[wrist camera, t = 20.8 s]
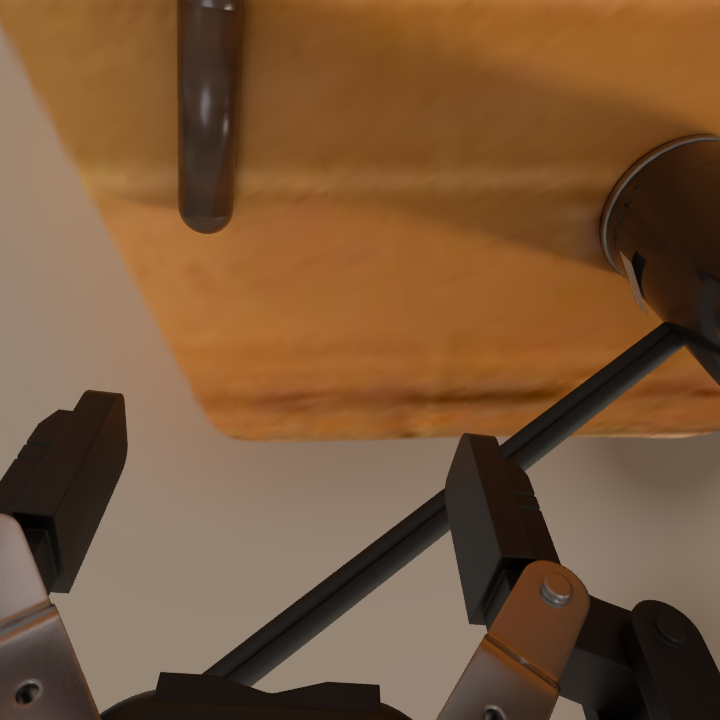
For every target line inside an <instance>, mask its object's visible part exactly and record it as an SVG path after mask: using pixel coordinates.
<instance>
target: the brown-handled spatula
mask: <svg viewBox="0 0 720 720" xmlns="http://www.w3.org/2000/svg"><path fill="white" fill-rule="evenodd" d="M242 19H243V2H242V0H177V74H178V206H179V212H180V215H181V218H182V219H183V221H184V222H185V224H186V225H187V226H188V227H190V228H191V229H192V230H194V231H196V232H199V233H203V234H212V233H216V232H219V231H220V230H222V229H223V228H225V227H226V226H227V224H228V223H229V221H230V220H231V217H232V213H233V200H234V180H235V160H236V140H237V120H238V99H239V79H240V59H241V39H242Z"/></svg>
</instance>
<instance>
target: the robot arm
mask: <svg viewBox="0 0 720 720" xmlns="http://www.w3.org/2000/svg"><path fill="white" fill-rule="evenodd" d="M600 239H601V245H602V248H603V251H604V254H605V256H606V258H607V259H608V261H609V262H610V264H611V265H612V266H613V267H614V268H615V270H616V271H617V272H618V273H619V274H621V275H622V276H623V277H625V278H626V279H627V280H628V282H629V283H630V285H631V288H632V291H633V294H634V297H635V300H636V303H637V304H638V306H639V307H640V308H641V309H642V310H643V312H644V313H645V314H646V315H647V312H646V309H645V306H644V303H643V299H644V300H645V302H646V303H647V304H648V305H649V306H650V307H651V308H652V309H653V311H654V312H655V313H656V314H657V315H658V316H659V317H660V319H661V320H662V321H663V322H664V323H662V324H661V325H660V326H658V327H657V328H656V329H654V330H653V331H652V332H650V333H649V334H648V335H646V336H645V337H644V338H642V339H641V340H640V341H638V342H637V343H636V344H634V345H633V346H632V347H630V348H629V349H628V350H626V351H625V352H624V353H622V354H621V355H620V356H618V357H617V358H616V359H615V360H613V361H612V362H611V363H609V364H608V365H607V366H605V367H604V368H603V369H601V370H600V371H599V372H597V373H596V374H595V375H593V376H592V377H591V378H589V379H588V380H587V381H585V382H584V383H583V384H581V385H580V386H579V387H577V388H576V389H575V390H573V391H572V392H571V393H569V394H568V395H567V396H565V397H564V398H563V399H561V400H560V401H559V402H557V403H556V404H555V405H553V406H552V407H551V408H549V409H548V410H547V411H545V412H544V413H543V414H541V415H540V416H539V417H537V418H536V419H535V420H533V421H532V422H531V423H529V424H528V425H527V426H525V427H524V428H523V429H521V430H520V431H519V432H518V433H516V434H515V435H514V436H512V437H511V438H510V439H508V440H507V441H506V442H504V443H503V444H502V445H501V446H499V444H498V441H497V439H496V437H494V436H487V435H478V434H469V433H464V434H463V435H462V437H461V439H460V441H459V444H458V447H457V450H456V453H455V456H454V459H453V461H452V464H451V467H450V470H449V473H448V476H447V480H446V485H445V488H444V489H443V490H442V491H440V492H439V493H438V494H436V495H435V496H434V497H432V498H431V499H430V500H428V501H427V502H426V503H425V504H423V505H422V506H421V507H419V508H418V509H417V510H415V511H414V512H413V513H411V514H410V515H409V516H408V517H406V518H405V519H404V520H402V521H401V522H400V523H399V524H397V525H396V526H394V527H393V528H392V529H390V530H389V531H388V532H387V533H385V534H384V535H383V536H381V537H380V538H379V539H377V540H376V541H375V542H374V543H372V544H371V545H370V546H368V547H367V548H366V549H364V550H363V551H362V552H361V553H359V554H358V555H357V556H355V557H354V558H353V559H351V560H350V561H349V562H347V563H346V564H345V565H343V566H342V567H341V568H339V569H338V570H337V571H336V572H334V573H333V574H332V575H330V576H329V577H328V578H327V579H325V580H324V581H322V582H321V583H320V584H318V585H317V586H316V587H315V588H313V589H312V590H311V591H309V592H308V593H307V594H305V595H304V596H303V597H302V598H300V599H299V600H298V601H296V602H295V603H294V604H292V605H291V606H290V607H289V608H287V609H286V610H284V611H283V612H282V613H281V614H279V615H278V616H277V617H275V618H274V619H273V620H271V621H270V622H269V623H267V624H266V625H265V626H264V627H262V628H261V629H260V630H258V631H257V632H256V633H254V634H253V635H252V636H251V637H249V638H248V639H247V640H245V641H244V642H243V643H242V644H240V645H239V646H238V647H236V648H235V649H234V650H233V651H231V652H230V653H229V654H227V655H226V656H225V657H223V658H222V659H221V660H219V661H218V662H217V663H216V664H214V665H213V666H212V667H210V668H209V669H208V670H207V671H205V672H204V673H203V674H183V673H167V672H161V673H160V676H159V680H158V683H157V688H156V690H152V691H147V692H144V693H141V694H138V695H135V696H132V697H130V698H128V699H125V700H123V701H121V702H119V703H117V704H115V705H114V706H112V707H110V708H109V709H107V710H105V711H104V712H102V713H101V714H99V712H98V709H97V707H96V704H95V702H94V699H93V697H92V695H91V692H90V689H89V687H88V684H87V682H86V679H85V677H84V674H83V672H82V670H81V667H80V665H79V662H78V659H77V657H76V654H75V652H74V649H73V647H72V644H71V642H70V639H69V637H68V634H67V632H66V629H65V627H64V624H63V622H62V619H61V617H60V614H59V612H58V610H57V608H56V606H55V604H52V603H51V601H50V599H49V594H50V592H56V593H69V592H70V590H71V587H72V585H73V583H74V580H75V578H76V576H77V574H78V571H79V569H80V566H81V565H82V562H83V560H84V558H85V555H86V553H87V551H88V548H89V546H90V544H91V541H92V539H93V537H94V535H95V532H96V530H97V528H98V526H99V523H100V521H101V518H102V516H103V514H104V512H105V510H106V507H107V505H108V503H109V500H110V498H111V496H112V494H113V491H114V489H115V487H116V484H117V482H118V480H119V478H120V475H121V473H122V470H123V468H124V465H125V461H126V456H127V446H128V444H127V429H126V416H125V402H124V397H123V395H122V394H120V393H111V392H103V391H94V390H87V391H85V392H84V394H83V395H82V397H81V399H80V400H79V402H78V404H77V405H76V407H75V408H74V410H73V411H67V410H58V411H56V412H55V413H53V414H52V415H50V416H49V417H48V418H46V419H45V420H43V421H42V422H40V423H39V424H38V426H37V427H36V429H35V430H34V432H33V433H32V435H31V436H30V437H29V439H28V441H27V444H26V445H24V446H23V448H22V450H21V451H20V453H19V454H18V458H17V459H15V460H14V462H13V463H12V465H11V466H10V467H9V469H8V470H7V472H6V473H5V475H4V476H3V478H2V480H1V481H0V720H412V719H411V718H410V717H408V716H406V715H405V714H404V713H402V712H400V711H399V710H397V709H395V708H393V707H391V706H389V705H386V704H384V703H381V702H380V686H379V685H372V684H355V683H338V682H324V683H320V684H315V685H311V686H307V687H302V688H297V689H292V690H288V691H283V692H279V693H266V692H263V691H260V690H257V689H254V688H251V686H252V685H254V684H255V683H256V682H258V681H259V680H260V679H261V678H263V677H264V676H265V675H266V674H268V673H269V672H270V671H272V670H273V669H274V668H275V667H277V666H278V665H279V664H281V663H282V662H283V661H284V660H286V659H287V658H288V657H289V656H291V655H292V654H293V653H295V652H296V651H297V650H298V649H300V648H301V647H302V646H303V645H305V644H306V643H307V642H309V641H310V640H311V639H312V638H314V637H315V636H316V635H317V634H319V633H320V632H321V631H323V630H324V629H325V628H326V627H328V626H329V625H330V624H331V623H333V622H334V621H335V620H336V619H338V618H339V617H340V616H342V615H343V614H344V613H345V612H347V611H348V610H349V609H350V608H352V607H353V606H354V605H355V604H357V603H358V602H359V601H361V600H362V599H363V598H364V597H366V596H367V595H368V594H369V593H371V592H372V591H373V590H375V589H376V588H377V587H378V586H379V585H381V584H382V583H383V582H385V581H386V580H387V579H388V578H390V577H391V576H392V575H393V574H395V573H396V572H397V571H398V570H400V569H401V568H402V567H404V566H405V565H406V564H408V563H409V562H410V561H411V560H413V559H414V558H415V557H416V556H418V555H419V554H420V553H422V552H423V551H424V550H425V549H427V548H428V547H429V546H430V545H432V544H433V543H434V542H435V541H437V540H438V539H439V538H440V537H442V536H443V535H444V534H446V533H447V532H448V531H449V530H451V534H452V538H453V544H454V549H455V554H456V559H457V564H458V569H459V574H460V579H461V585H462V589H463V594H464V600H465V605H466V610H467V615H468V620H469V624H475V625H486V628H487V632H488V633H487V634H486V635H485V636H484V638H483V640H482V641H481V643H480V644H479V646H478V648H477V650H476V651H475V653H474V655H473V656H472V658H471V660H470V662H469V664H468V665H467V667H466V669H465V670H464V672H463V674H462V675H461V677H460V679H459V681H458V682H457V684H456V686H455V688H454V689H453V691H452V693H451V694H450V696H449V698H448V700H447V702H446V703H445V705H444V707H443V708H442V710H441V712H440V714H439V715H438V717H437V719H436V720H549V719H550V717H551V714H552V712H553V709H554V707H555V704H556V702H557V699H558V696H559V695H560V696H562V697H564V698H567V699H569V700H572V701H574V702H577V703H579V704H582V706H583V710H584V714H585V717H586V720H720V672H719V670H718V668H717V666H716V664H715V662H714V660H713V658H712V656H711V654H710V652H709V650H708V648H707V646H706V644H705V642H704V640H703V637H702V636H701V634H700V632H699V630H698V629H697V628H696V626H695V625H694V624H693V623H692V622H691V621H690V619H688V618H687V617H686V616H685V615H684V614H683V613H681V612H680V611H679V610H677V609H675V608H674V607H672V606H670V605H668V604H666V603H663V602H660V601H656V600H644V601H642V602H639V603H638V604H637V605H636V606H635V607H634V609H633V610H632V611H629V610H626V609H624V608H621V607H618V606H615V605H613V604H610V603H608V602H605V601H602V600H600V599H597V598H595V597H593V596H591V595H589V594H588V591H587V589H586V587H585V585H584V584H583V583H582V581H581V580H580V579H579V578H578V577H577V576H576V575H575V574H574V573H573V572H572V571H570V570H569V569H567V568H566V567H564V566H562V565H561V563H560V561H559V558H558V555H557V553H556V550H555V547H554V545H553V542H552V539H551V536H550V534H549V531H548V528H547V526H546V523H545V520H544V518H543V515H542V512H541V511H540V510H539V509H540V507H539V504H538V502H537V499H536V497H534V491H533V488H532V485H531V483H530V480H529V477H528V475H527V474H526V473H525V472H524V471H525V470H527V469H528V468H529V467H531V466H532V465H533V464H534V463H536V462H537V461H538V460H540V459H541V458H542V457H543V456H545V455H546V454H547V453H548V452H550V451H551V450H552V449H553V448H555V447H556V446H557V445H558V444H560V443H561V442H562V441H564V440H565V439H566V438H567V437H569V436H570V435H571V434H573V433H574V432H575V431H576V430H578V429H579V428H580V427H581V426H583V425H584V424H585V423H587V422H588V421H589V420H590V419H592V418H593V417H594V416H595V415H597V414H598V413H599V412H600V411H602V410H603V409H604V408H606V407H607V406H608V405H609V404H611V403H612V402H613V401H614V400H616V399H617V398H618V397H620V396H621V395H622V394H623V393H625V392H626V391H627V390H628V389H630V388H631V387H632V386H633V385H635V384H636V383H637V382H639V381H640V380H641V379H642V378H644V377H645V376H646V375H647V374H649V373H650V372H651V371H653V370H654V369H655V368H656V367H658V366H659V365H660V364H661V363H663V362H664V361H665V360H666V359H668V358H669V357H670V356H672V355H673V354H674V353H675V352H677V351H678V350H679V349H680V348H682V347H683V346H685V347H686V348H687V349H688V350H689V352H690V353H691V354H692V355H693V356H694V357H695V358H696V360H697V361H698V362H699V363H700V364H701V365H702V366H703V368H704V369H705V370H706V371H707V372H708V373H709V374H710V375H711V377H712V378H713V379H714V380H715V381H716V382H717V383H718V385H719V386H720V136H716V135H693V136H688V137H684V138H680V139H677V140H674V141H671V142H669V143H667V144H665V145H662V146H660V147H659V148H657V149H655V150H653V151H652V152H650V153H649V154H647V155H646V156H644V157H643V158H642V159H641V160H639V161H638V162H637V163H636V164H635V165H634V166H632V167H631V168H630V169H629V171H628V172H627V173H626V174H625V175H624V176H623V177H622V178H621V180H620V181H619V182H618V184H617V185H616V187H615V188H614V190H613V191H612V193H611V195H610V197H609V199H608V201H607V203H606V206H605V209H604V212H603V215H602V220H601V227H600ZM642 298H643V299H642Z"/></svg>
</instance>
